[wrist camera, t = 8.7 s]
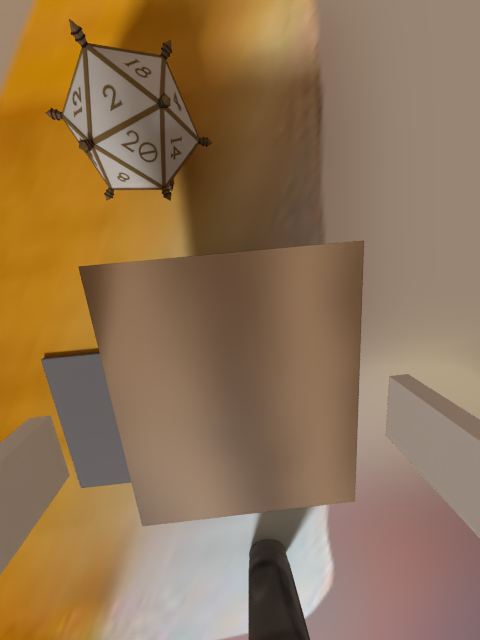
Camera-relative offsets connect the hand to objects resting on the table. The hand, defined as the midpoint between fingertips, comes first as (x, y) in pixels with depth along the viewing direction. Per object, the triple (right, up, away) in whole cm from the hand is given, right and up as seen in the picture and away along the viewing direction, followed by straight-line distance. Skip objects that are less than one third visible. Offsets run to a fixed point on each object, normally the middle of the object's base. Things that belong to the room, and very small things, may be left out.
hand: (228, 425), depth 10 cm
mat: (-13, -6, +16) cm, 21 cm away
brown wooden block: (0, +2, +7) cm, 7 cm away
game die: (-6, +17, +10) cm, 21 cm away
